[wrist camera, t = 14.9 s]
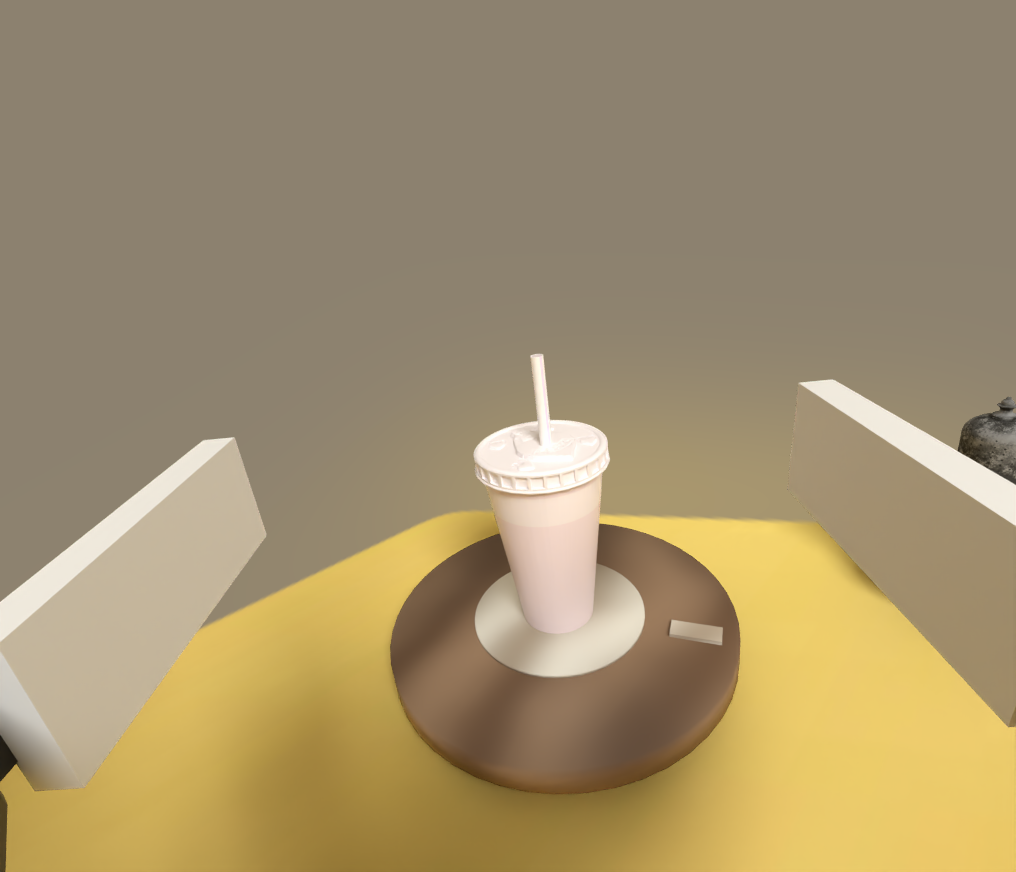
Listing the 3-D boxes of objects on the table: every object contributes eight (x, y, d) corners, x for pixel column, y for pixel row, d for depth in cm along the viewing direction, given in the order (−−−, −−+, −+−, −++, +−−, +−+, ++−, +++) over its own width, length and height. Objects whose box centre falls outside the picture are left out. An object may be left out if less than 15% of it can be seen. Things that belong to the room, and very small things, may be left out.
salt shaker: (891, 565, 34) (923, 375, 29) (1019, 586, 31) (1076, 379, 26) (898, 629, 29) (936, 415, 25) (1049, 661, 26) (1124, 426, 22)
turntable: (323, 733, 26) (314, 709, 26) (477, 528, 41) (474, 509, 41) (737, 855, 19) (738, 824, 19) (740, 555, 35) (741, 533, 34)
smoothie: (545, 675, 26) (507, 386, 20) (477, 605, 31) (432, 360, 26) (645, 612, 29) (635, 346, 23) (567, 558, 34) (545, 330, 29)
